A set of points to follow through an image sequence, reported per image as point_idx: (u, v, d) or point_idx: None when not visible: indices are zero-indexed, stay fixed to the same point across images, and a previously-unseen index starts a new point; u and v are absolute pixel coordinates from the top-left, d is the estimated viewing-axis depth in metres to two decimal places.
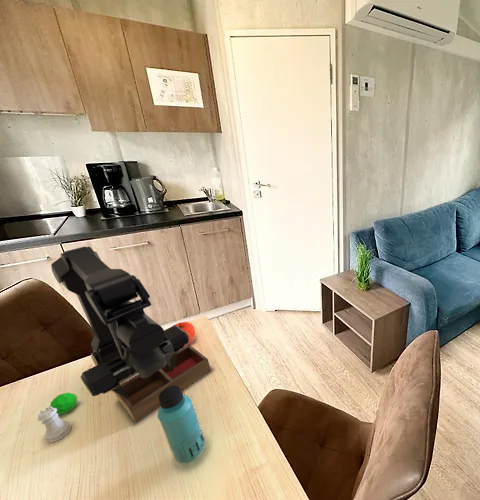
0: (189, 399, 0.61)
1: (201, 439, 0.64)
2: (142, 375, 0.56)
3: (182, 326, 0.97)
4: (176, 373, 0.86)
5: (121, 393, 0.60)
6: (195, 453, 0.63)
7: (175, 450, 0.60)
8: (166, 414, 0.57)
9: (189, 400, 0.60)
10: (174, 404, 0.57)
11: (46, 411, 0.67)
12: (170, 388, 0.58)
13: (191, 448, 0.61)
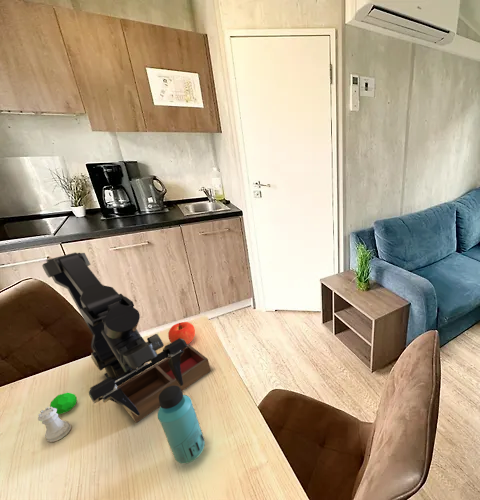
0: (189, 399, 0.61)
1: (201, 439, 0.64)
2: (132, 363, 0.59)
3: (182, 326, 0.97)
4: None
5: (128, 405, 0.60)
6: (195, 453, 0.63)
7: (175, 450, 0.60)
8: (166, 414, 0.57)
9: (189, 400, 0.60)
10: (174, 404, 0.57)
11: (46, 411, 0.67)
12: (170, 388, 0.58)
13: (191, 448, 0.61)
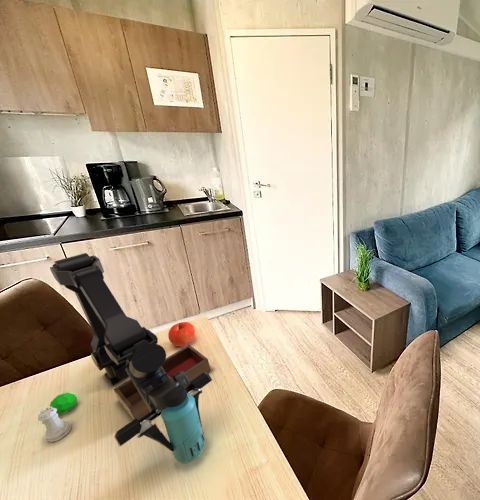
0: (193, 398, 0.61)
1: (202, 439, 0.64)
2: (159, 404, 0.56)
3: (182, 326, 0.97)
4: (176, 373, 0.86)
5: (163, 441, 0.59)
6: (195, 453, 0.63)
7: (176, 450, 0.60)
8: (170, 413, 0.57)
9: (193, 399, 0.61)
10: (178, 403, 0.57)
11: (46, 411, 0.67)
12: None
13: (192, 448, 0.61)
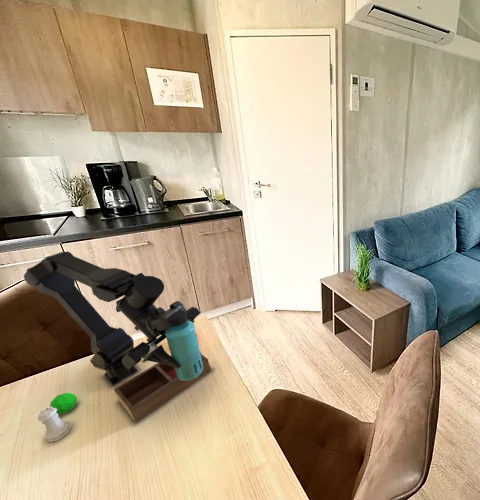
0: (191, 322, 0.70)
1: (201, 359, 0.74)
2: (165, 324, 0.65)
3: None
4: None
5: (169, 359, 0.67)
6: (198, 370, 0.73)
7: (182, 367, 0.70)
8: (175, 331, 0.66)
9: (191, 322, 0.70)
10: (183, 322, 0.66)
11: (46, 411, 0.67)
12: None
13: (195, 364, 0.71)
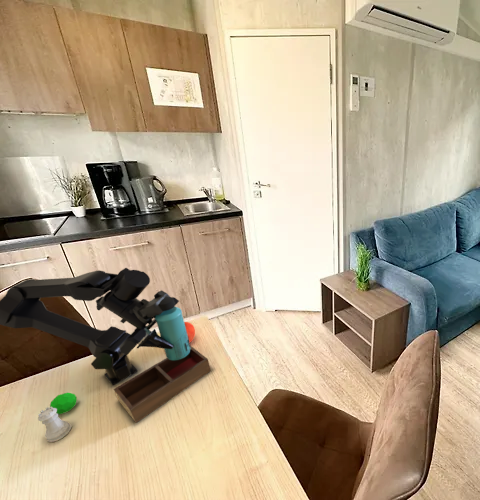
0: (177, 307, 0.80)
1: (188, 340, 0.84)
2: (158, 309, 0.74)
3: None
4: (176, 373, 0.86)
5: (163, 341, 0.76)
6: (188, 349, 0.82)
7: (174, 347, 0.79)
8: (167, 315, 0.75)
9: (177, 307, 0.80)
10: (172, 306, 0.76)
11: (46, 411, 0.67)
12: None
13: (186, 343, 0.81)
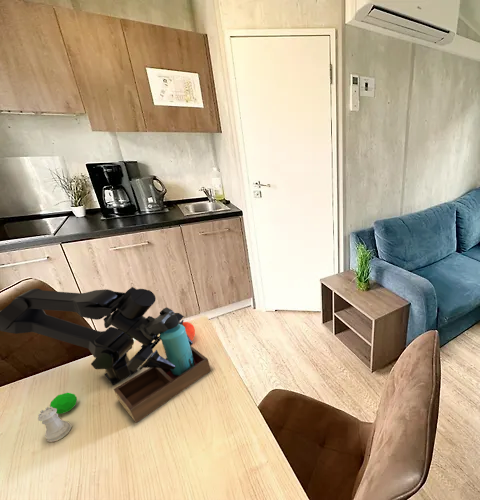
0: (180, 324, 0.82)
1: (192, 355, 0.86)
2: (163, 327, 0.76)
3: None
4: None
5: (165, 362, 0.77)
6: (192, 364, 0.85)
7: (179, 363, 0.81)
8: (171, 333, 0.78)
9: None
10: (176, 324, 0.78)
11: (46, 411, 0.67)
12: None
13: (190, 359, 0.83)
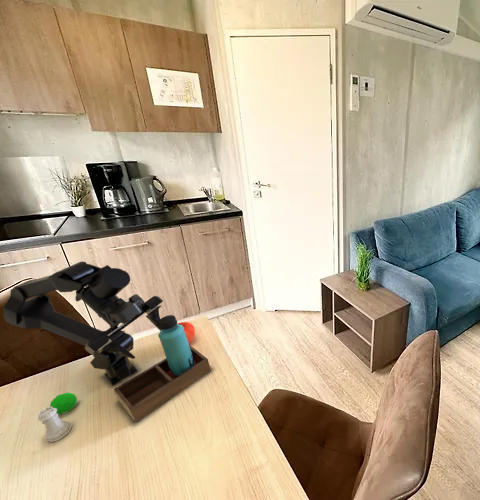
0: None
1: (192, 355, 0.86)
2: (122, 319, 0.70)
3: None
4: None
5: (123, 351, 0.73)
6: (192, 364, 0.85)
7: (178, 363, 0.81)
8: (170, 333, 0.78)
9: None
10: (175, 324, 0.78)
11: (46, 411, 0.67)
12: (165, 317, 0.79)
13: (189, 359, 0.83)
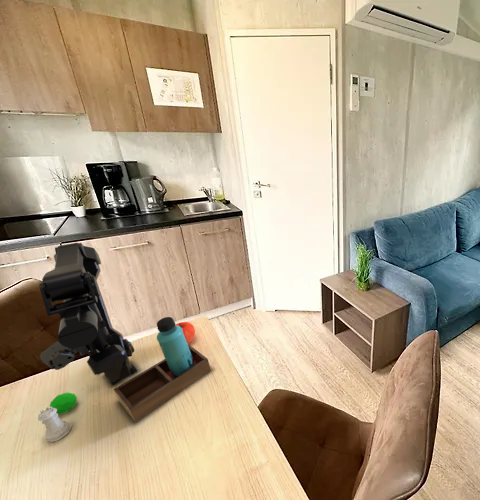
0: None
1: (191, 355, 0.86)
2: None
3: (182, 326, 0.97)
4: None
5: None
6: (191, 364, 0.85)
7: (178, 364, 0.81)
8: (168, 335, 0.77)
9: None
10: (173, 326, 0.77)
11: (46, 411, 0.67)
12: (162, 319, 0.77)
13: (189, 359, 0.83)
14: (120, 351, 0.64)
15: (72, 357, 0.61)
